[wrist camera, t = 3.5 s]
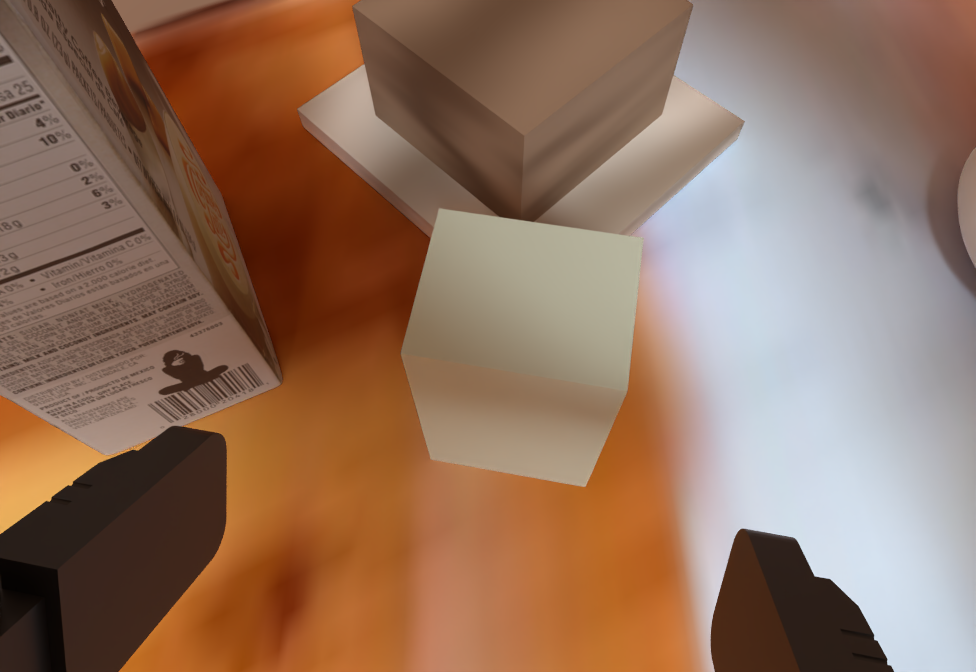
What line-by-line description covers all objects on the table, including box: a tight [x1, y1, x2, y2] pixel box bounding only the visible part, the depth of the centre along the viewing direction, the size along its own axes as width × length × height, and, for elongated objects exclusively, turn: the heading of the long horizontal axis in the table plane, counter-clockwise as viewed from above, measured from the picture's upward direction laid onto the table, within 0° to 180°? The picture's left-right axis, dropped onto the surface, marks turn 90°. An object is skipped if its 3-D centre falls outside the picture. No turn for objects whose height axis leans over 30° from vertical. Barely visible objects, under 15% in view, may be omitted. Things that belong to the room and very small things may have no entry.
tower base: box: [297, 0, 745, 238], centre depth 26 cm, size 13×12×6 cm
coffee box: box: [0, 0, 283, 455], centre depth 18 cm, size 9×6×16 cm
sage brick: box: [400, 208, 643, 487], centre depth 20 cm, size 5×4×8 cm
